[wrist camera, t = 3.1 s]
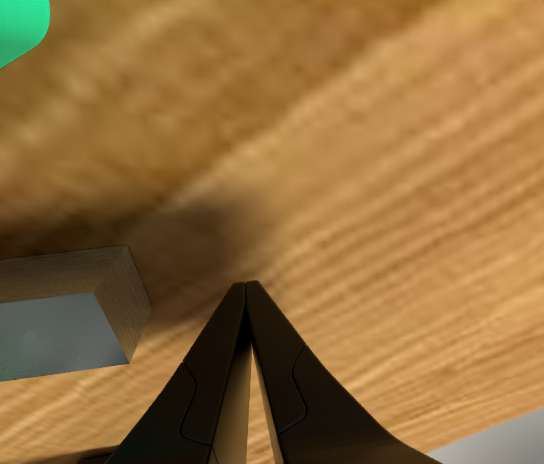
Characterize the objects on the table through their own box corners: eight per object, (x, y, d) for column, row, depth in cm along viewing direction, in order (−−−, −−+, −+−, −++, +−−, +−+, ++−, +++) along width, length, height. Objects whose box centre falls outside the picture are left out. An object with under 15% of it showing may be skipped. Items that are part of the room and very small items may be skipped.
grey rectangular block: (152, 308, 11) (129, 363, 9) (-58, 335, 10) (-137, 401, 8) (127, 244, 9) (92, 292, 7) (-118, 273, 9) (-233, 333, 7)
